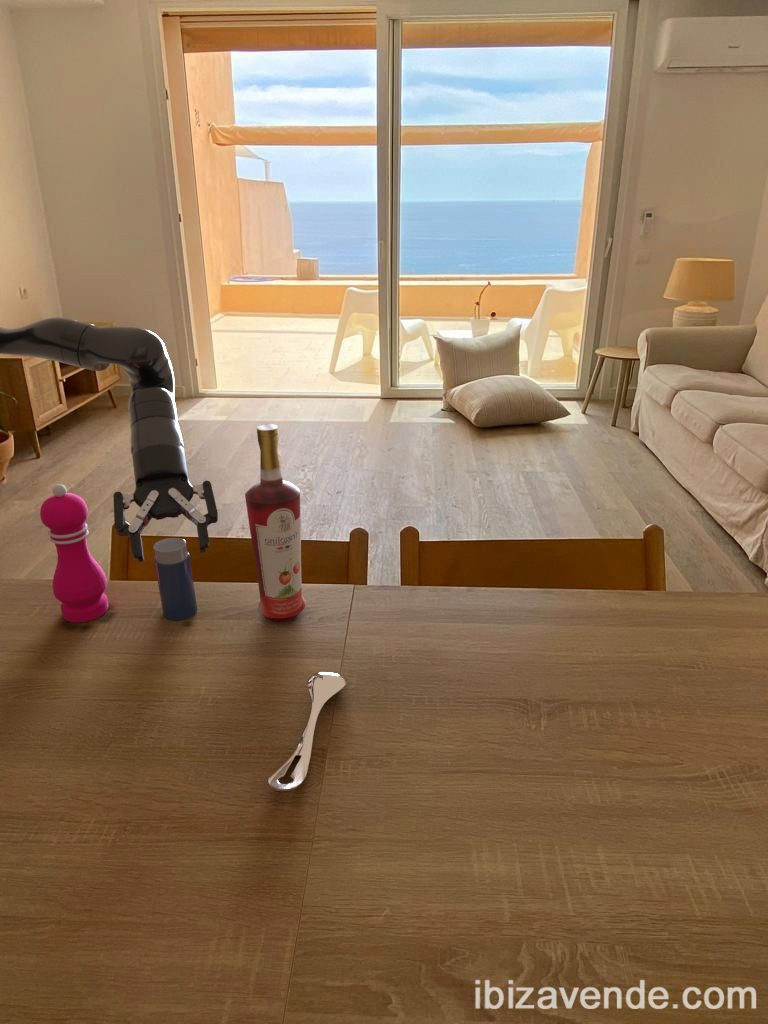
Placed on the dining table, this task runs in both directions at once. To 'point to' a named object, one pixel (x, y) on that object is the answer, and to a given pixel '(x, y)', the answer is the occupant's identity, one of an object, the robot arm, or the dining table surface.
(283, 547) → the liquor
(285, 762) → the ice cream scoop
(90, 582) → the pepper mill
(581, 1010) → the dining table surface
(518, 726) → the dining table surface
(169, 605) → the cylinder
